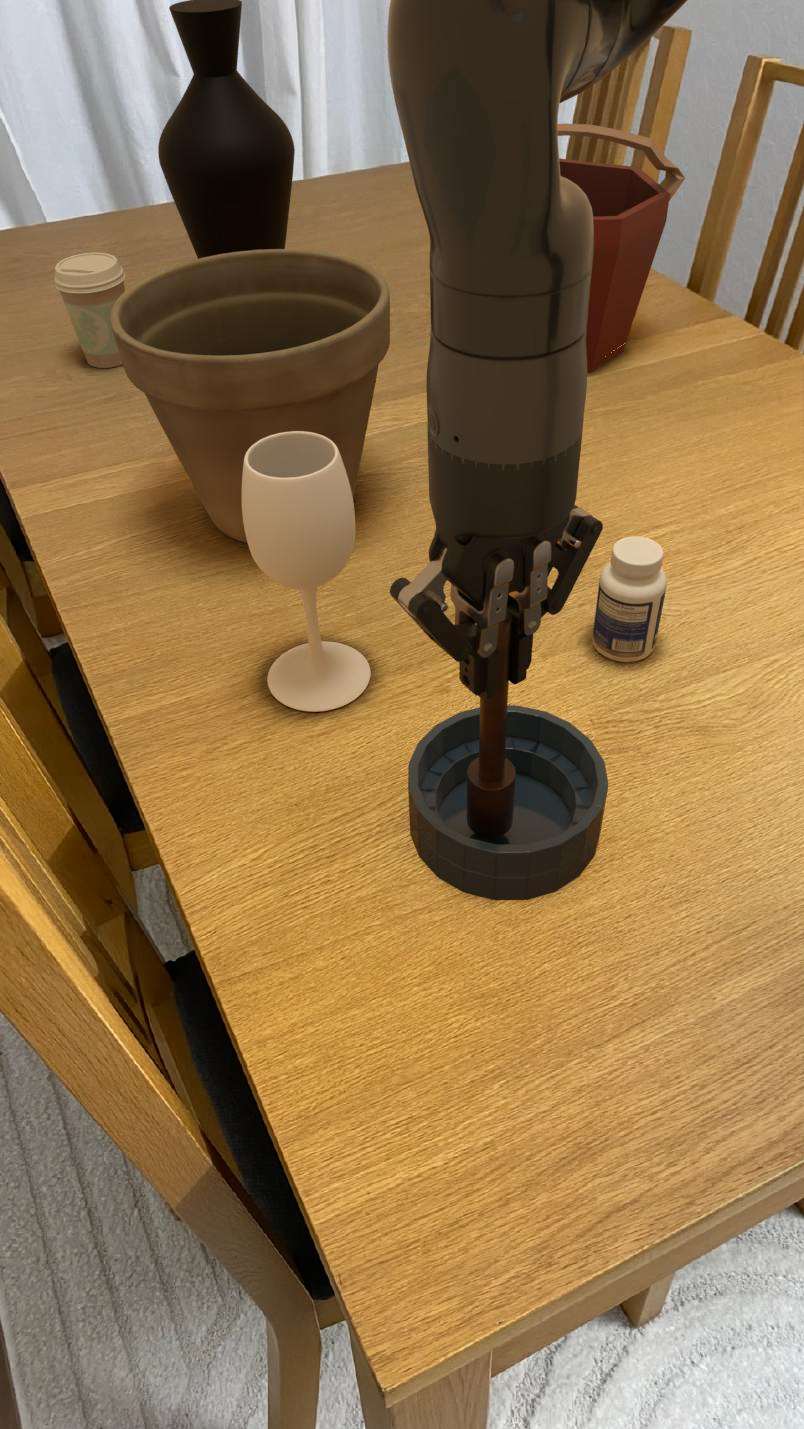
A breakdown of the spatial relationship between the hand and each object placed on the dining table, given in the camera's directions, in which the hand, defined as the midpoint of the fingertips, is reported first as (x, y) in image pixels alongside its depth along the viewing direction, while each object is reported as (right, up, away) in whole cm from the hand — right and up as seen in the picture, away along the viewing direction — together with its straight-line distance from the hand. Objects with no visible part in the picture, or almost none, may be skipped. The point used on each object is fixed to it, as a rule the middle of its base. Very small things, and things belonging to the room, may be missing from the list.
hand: (495, 682), depth 60 cm
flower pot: (-18, +20, +43) cm, 51 cm away
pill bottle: (+13, +4, +26) cm, 29 cm away
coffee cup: (-44, +44, +69) cm, 93 cm away
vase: (-27, +55, +80) cm, 101 cm away
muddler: (0, -9, +9) cm, 13 cm away
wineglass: (-13, +1, +24) cm, 27 cm away
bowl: (+2, -10, +11) cm, 15 cm away
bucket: (+14, +45, +67) cm, 82 cm away
